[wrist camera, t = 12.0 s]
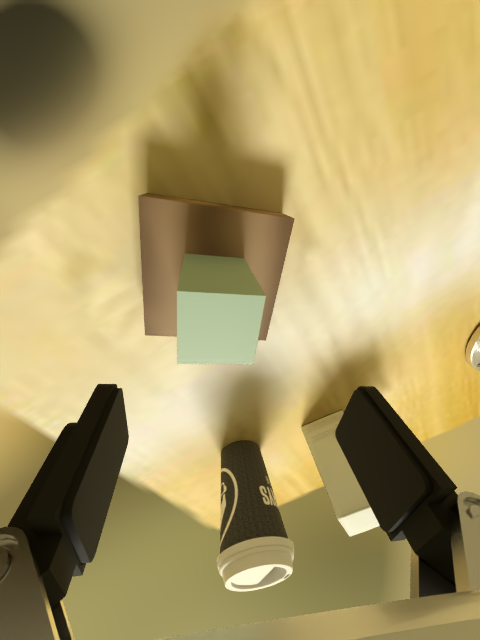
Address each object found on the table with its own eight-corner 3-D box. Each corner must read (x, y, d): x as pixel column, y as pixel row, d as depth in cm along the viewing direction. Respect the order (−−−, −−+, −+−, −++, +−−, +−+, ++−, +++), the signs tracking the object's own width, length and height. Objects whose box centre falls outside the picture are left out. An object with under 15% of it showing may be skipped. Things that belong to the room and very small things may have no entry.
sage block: (244, 258, 21) (266, 295, 14) (237, 310, 23) (253, 364, 17) (184, 253, 20) (176, 291, 13) (183, 307, 23) (177, 363, 16)
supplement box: (299, 426, 40) (336, 519, 29) (342, 408, 39) (397, 497, 28) (311, 448, 43) (349, 538, 33) (351, 432, 43) (403, 519, 32)
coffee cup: (242, 474, 44) (259, 595, 32) (199, 459, 40) (199, 591, 27) (280, 446, 42) (315, 566, 29) (238, 426, 38) (258, 556, 25)
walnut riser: (280, 212, 23) (294, 218, 20) (258, 321, 29) (265, 340, 26) (148, 192, 21) (138, 195, 18) (152, 315, 27) (145, 335, 23)
